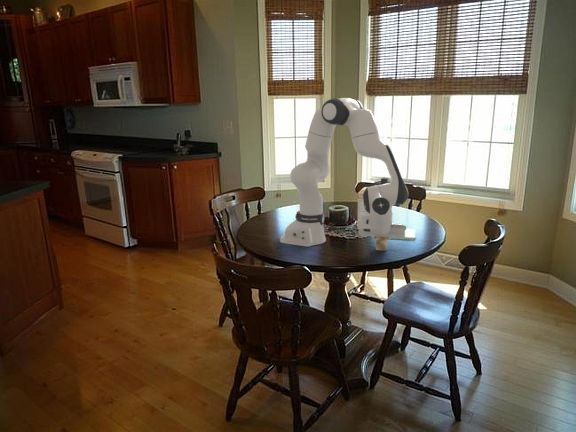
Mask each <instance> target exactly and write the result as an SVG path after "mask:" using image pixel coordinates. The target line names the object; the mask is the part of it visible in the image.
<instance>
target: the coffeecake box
mask: <svg viewBox="0 0 576 432" xmlns="http://www.w3.org/2000/svg"><path fill="white" fill-rule="evenodd" d="M367 187H368V186H364V187H363V188H362V189H360V191H358V192H357V223H356V225H357V226H356V228H357V229H358V230H359V224H360V221H361V218H362V216H369V215H370V214H369V213H368V212H367V211H366V210H365V207H364V200H363V193H364V191H365V189H366V188H367Z"/></svg>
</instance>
